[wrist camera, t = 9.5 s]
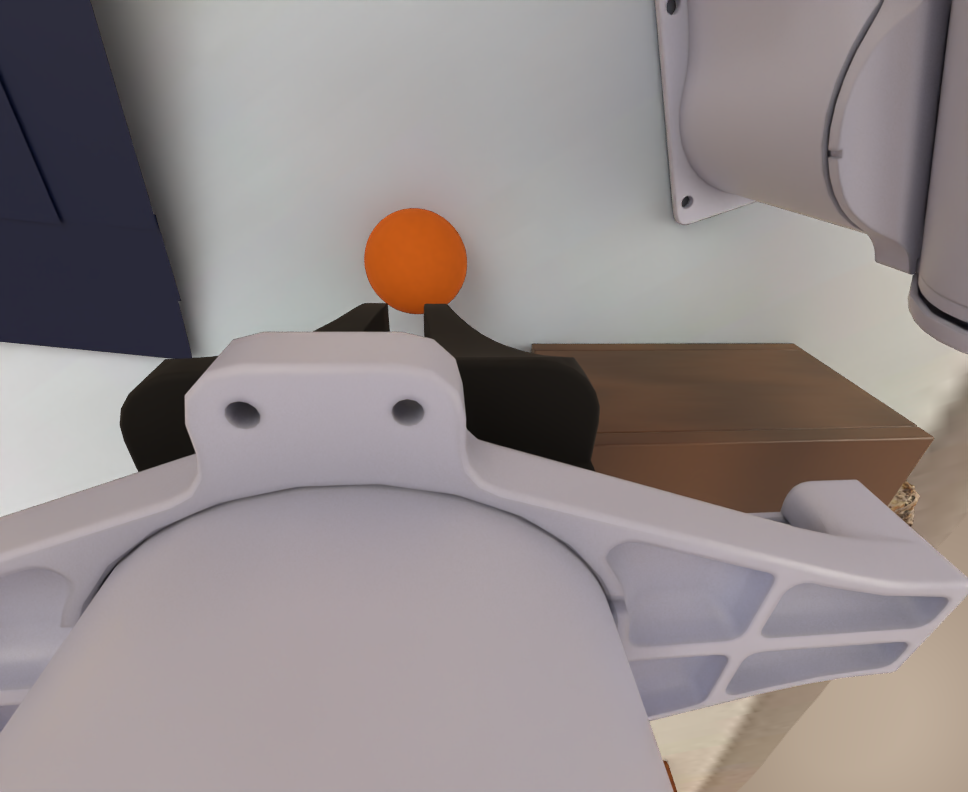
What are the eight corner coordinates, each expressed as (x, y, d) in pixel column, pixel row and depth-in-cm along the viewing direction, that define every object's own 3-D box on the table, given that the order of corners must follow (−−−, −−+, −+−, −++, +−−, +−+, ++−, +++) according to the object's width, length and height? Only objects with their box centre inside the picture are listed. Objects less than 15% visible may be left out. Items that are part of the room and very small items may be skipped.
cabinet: (513, 516, 31) (538, 643, 23) (531, 343, 24) (573, 446, 17) (722, 508, 32) (806, 626, 25) (793, 343, 26) (936, 437, 18)
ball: (354, 219, 20) (337, 243, 17) (445, 185, 20) (448, 203, 16) (393, 305, 22) (385, 343, 19) (476, 277, 22) (484, 310, 18)
